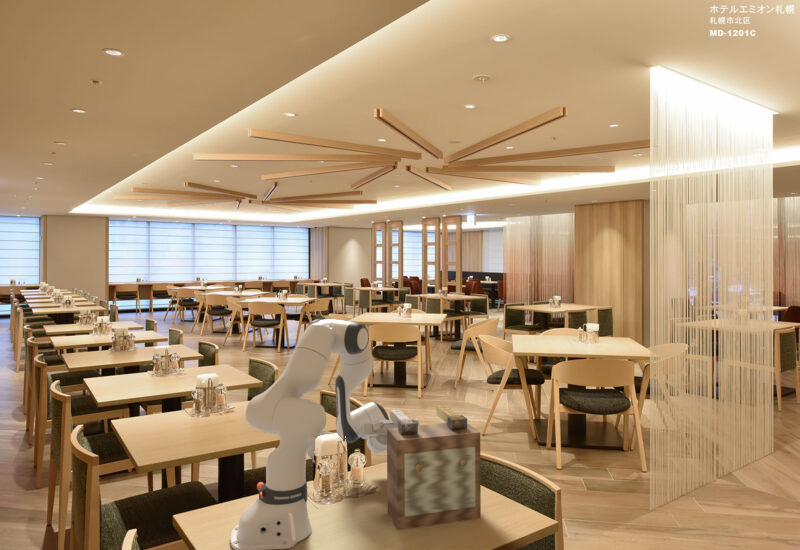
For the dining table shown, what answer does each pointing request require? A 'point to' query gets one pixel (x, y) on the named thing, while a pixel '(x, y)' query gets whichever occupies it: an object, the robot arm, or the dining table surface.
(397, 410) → the steel handle
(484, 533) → the dining table surface
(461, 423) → the brass handle
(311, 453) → the teacup
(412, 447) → the wooden box
